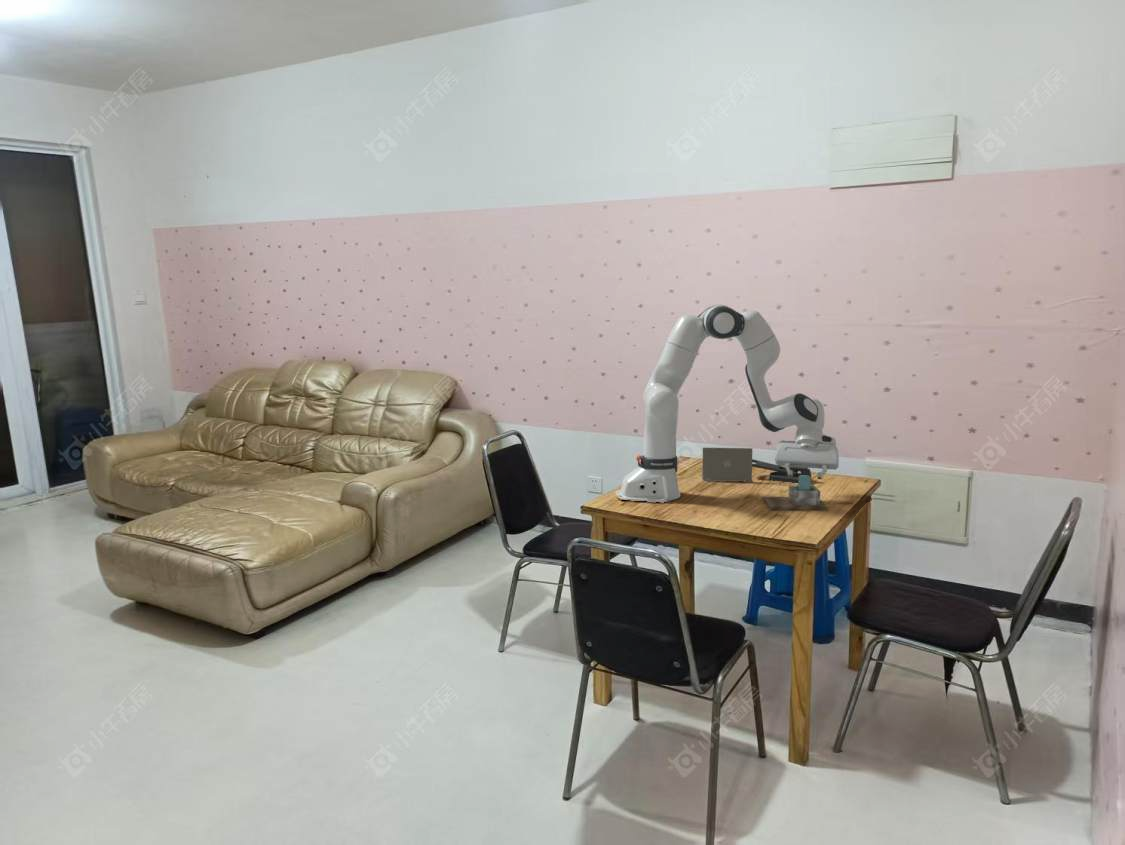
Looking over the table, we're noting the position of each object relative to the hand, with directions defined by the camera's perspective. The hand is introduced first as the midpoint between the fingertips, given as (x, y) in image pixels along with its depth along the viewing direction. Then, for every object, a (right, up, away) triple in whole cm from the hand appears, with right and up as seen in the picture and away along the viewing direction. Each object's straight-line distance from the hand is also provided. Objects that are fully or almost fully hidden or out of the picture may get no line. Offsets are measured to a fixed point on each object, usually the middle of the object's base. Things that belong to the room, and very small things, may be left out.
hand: (804, 477), depth 250 cm
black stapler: (+1, -4, +35) cm, 36 cm away
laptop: (-17, -3, +40) cm, 43 cm away
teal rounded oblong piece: (0, -8, +1) cm, 8 cm away
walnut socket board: (-3, -9, +1) cm, 10 cm away
